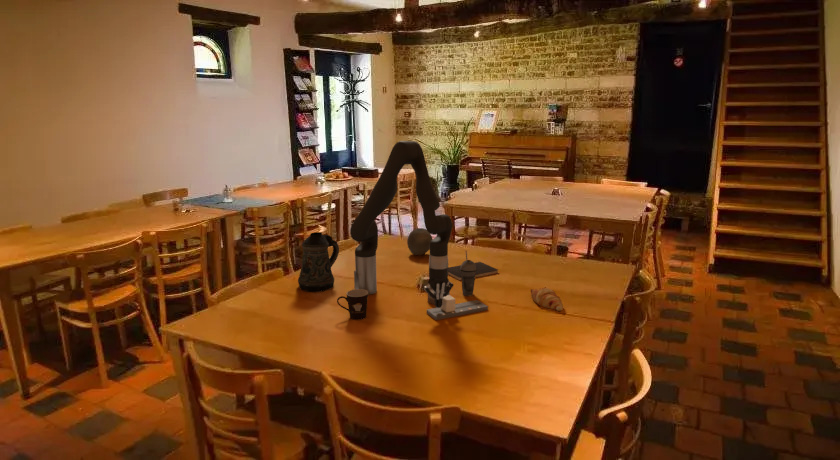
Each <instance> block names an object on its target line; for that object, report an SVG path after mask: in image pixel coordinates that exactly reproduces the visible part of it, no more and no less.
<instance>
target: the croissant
mask: <svg viewBox="0 0 840 460" xmlns="http://www.w3.org/2000/svg"><path fill="white" fill-rule="evenodd" d="M530 296H531V299H532V300H533V302H534V303H535V304H537V305H539V306H540V307H542V308H547V309H552V310H554V311H558V312H560V311H562V310H563V309H564V304H563V302H562V299H561V297H560V296H558V294H557V293H556V291H555V290H554V289H551V288H549V287H546V286H545V287H542V288H538V289H537V288H535V289H534V288H532V289H530Z"/></svg>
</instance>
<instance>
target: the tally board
mask: <svg viewBox="0 0 840 460" xmlns="http://www.w3.org/2000/svg"><path fill="white" fill-rule="evenodd" d="M488 307H489V306H488V305H486V304H485V303H483V302H482V301H480V300H478V299H476V300H475V299H474V300H469V301H465V302H459V303H455V311H451V312H445V311H444V310H442V309H441V308H437V307H434V308H433V307H432V308H428V309H426V314H427V315H429V316H430V317H431V318H432V319H434V320H435V321H439V320H444V319H449V318H454V317H459V316H464V315H469V314H473V313H478V312H483V311H484V312H485V311H488V310H489V308H488Z"/></svg>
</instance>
